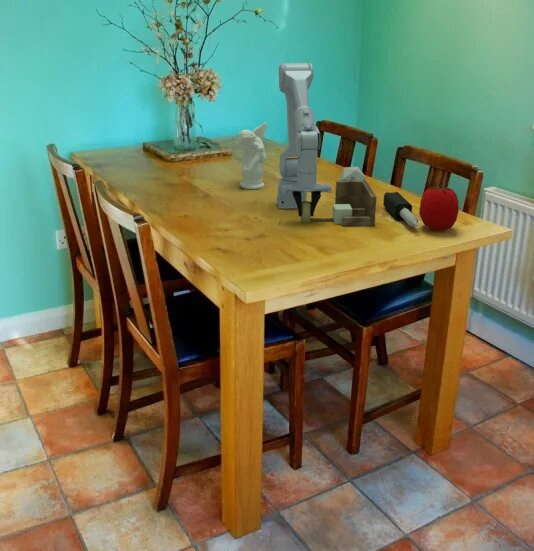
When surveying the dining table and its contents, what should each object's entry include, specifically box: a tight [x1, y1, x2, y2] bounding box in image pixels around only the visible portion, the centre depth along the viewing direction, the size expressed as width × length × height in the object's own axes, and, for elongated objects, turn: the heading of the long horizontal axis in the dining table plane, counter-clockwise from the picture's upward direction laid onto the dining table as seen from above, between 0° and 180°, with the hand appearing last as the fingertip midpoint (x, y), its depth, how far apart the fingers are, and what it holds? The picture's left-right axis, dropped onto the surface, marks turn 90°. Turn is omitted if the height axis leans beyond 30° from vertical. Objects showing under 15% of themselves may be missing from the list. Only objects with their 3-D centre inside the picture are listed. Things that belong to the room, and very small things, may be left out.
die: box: [337, 166, 367, 181], centre depth 238 cm, size 8×9×10 cm
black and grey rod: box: [382, 191, 419, 228], centre depth 210 cm, size 5×5×25 cm
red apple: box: [418, 183, 460, 232], centre depth 201 cm, size 12×12×13 cm
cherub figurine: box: [238, 121, 268, 190], centre depth 241 cm, size 12×12×22 cm
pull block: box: [300, 200, 352, 225], centre depth 208 cm, size 15×5×6 cm, turn 93°
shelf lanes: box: [334, 180, 377, 227], centre depth 211 cm, size 10×17×9 cm, turn 2°
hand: (305, 215), depth 208 cm, fingers closed on pull block, 3 cm apart
